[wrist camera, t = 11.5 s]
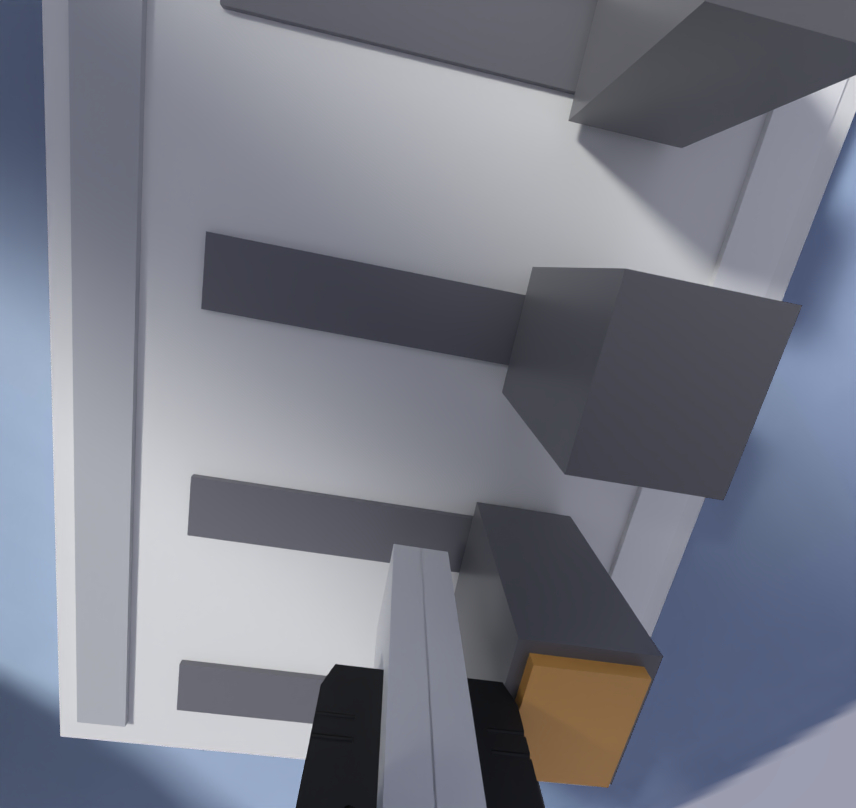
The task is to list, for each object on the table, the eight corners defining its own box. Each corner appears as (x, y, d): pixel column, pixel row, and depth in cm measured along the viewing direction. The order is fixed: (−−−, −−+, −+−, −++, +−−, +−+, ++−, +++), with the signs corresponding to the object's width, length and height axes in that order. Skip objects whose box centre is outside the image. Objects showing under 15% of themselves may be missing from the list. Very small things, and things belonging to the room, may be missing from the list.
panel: (95, 688, 19) (56, 742, 17) (96, -237, 11) (25, -354, 9) (575, 738, 21) (594, 792, 19) (849, -20, 13) (934, -74, 11)
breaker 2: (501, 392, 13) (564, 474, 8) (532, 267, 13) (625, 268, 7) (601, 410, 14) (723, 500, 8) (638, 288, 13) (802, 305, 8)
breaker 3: (453, 597, 15) (481, 786, 10) (476, 502, 14) (522, 650, 9) (541, 609, 16) (617, 798, 10) (570, 516, 15) (670, 669, 9)
